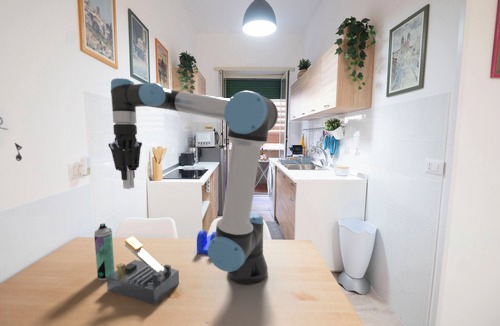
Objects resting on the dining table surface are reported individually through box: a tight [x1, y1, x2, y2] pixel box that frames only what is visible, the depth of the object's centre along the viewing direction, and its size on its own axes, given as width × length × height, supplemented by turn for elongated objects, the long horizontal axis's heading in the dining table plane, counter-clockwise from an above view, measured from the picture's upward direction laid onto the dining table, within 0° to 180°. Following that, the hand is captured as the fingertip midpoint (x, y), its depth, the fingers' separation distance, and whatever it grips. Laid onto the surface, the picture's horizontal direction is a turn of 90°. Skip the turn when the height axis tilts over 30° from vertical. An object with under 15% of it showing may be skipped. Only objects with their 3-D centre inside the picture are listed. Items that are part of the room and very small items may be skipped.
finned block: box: [106, 259, 180, 306], centre depth 85 cm, size 20×12×9 cm, turn 69°
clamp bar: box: [124, 236, 167, 277], centre depth 83 cm, size 17×3×3 cm, turn 70°
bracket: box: [196, 230, 216, 255], centre depth 117 cm, size 18×8×9 cm, turn 169°
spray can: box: [93, 223, 116, 281], centre depth 90 cm, size 6×6×20 cm
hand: (128, 187), depth 92 cm, fingers closed
